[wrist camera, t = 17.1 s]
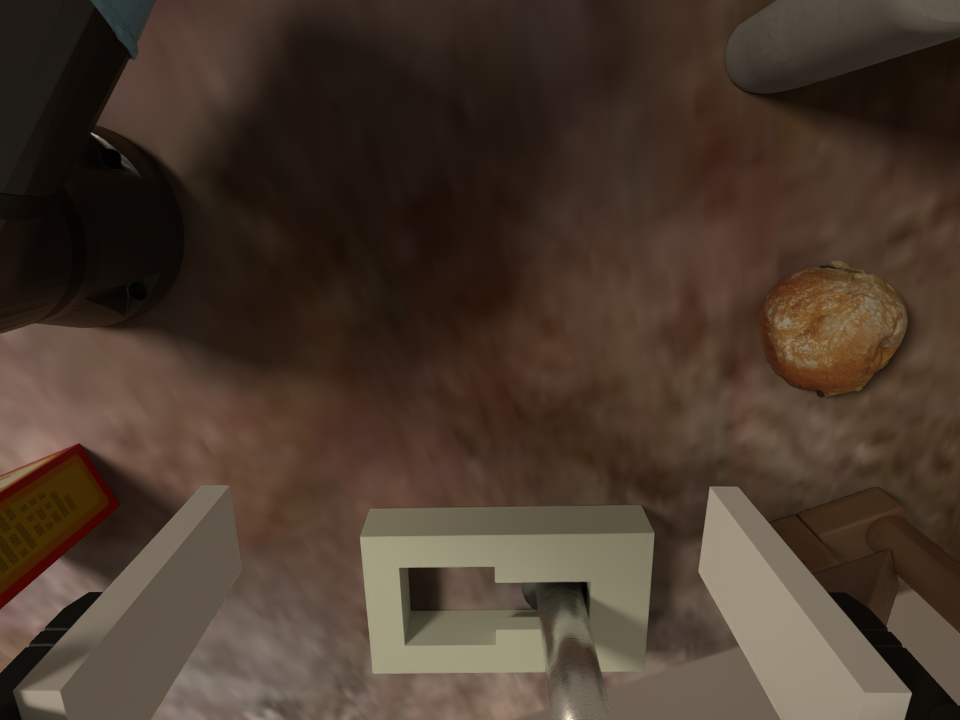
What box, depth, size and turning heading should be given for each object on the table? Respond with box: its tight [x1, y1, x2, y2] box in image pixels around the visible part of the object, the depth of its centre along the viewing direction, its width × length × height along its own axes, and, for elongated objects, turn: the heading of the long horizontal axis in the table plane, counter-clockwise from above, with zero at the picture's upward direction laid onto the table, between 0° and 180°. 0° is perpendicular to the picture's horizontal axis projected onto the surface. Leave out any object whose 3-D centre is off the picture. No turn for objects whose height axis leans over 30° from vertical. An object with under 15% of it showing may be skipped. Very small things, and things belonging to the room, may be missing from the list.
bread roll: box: [758, 261, 908, 398], centre depth 44 cm, size 10×10×8 cm
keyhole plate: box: [360, 505, 655, 674], centre depth 51 cm, size 24×14×4 cm, turn 91°
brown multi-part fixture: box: [769, 487, 960, 633], centre depth 42 cm, size 4×11×18 cm, turn 113°
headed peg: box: [521, 582, 612, 720], centre depth 44 cm, size 6×6×18 cm
